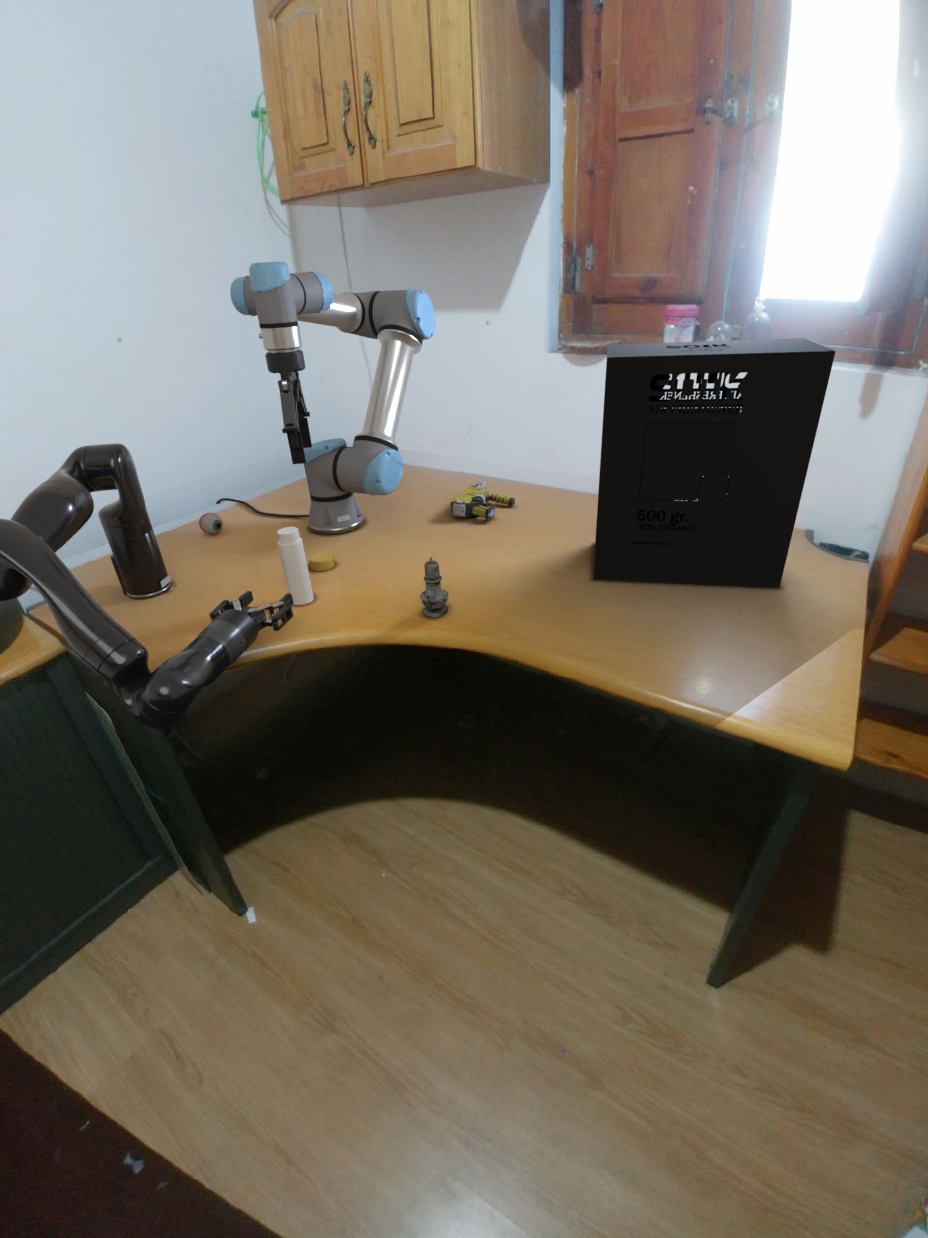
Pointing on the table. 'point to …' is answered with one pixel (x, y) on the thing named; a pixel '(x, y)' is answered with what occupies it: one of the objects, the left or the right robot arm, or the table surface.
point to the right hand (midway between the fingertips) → (302, 455)
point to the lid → (321, 561)
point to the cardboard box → (706, 459)
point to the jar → (295, 565)
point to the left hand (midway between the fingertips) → (270, 596)
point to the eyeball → (210, 523)
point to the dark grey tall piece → (433, 591)
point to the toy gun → (477, 502)
